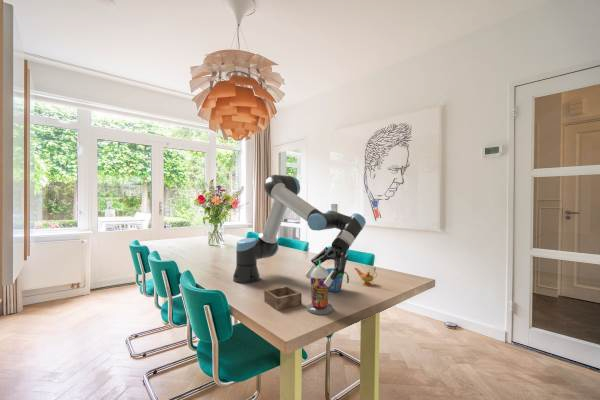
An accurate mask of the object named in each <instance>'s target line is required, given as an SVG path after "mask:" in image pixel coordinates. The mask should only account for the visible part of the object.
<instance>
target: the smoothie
mask: <svg viewBox="0 0 600 400" xmlns="http://www.w3.org/2000/svg"><path fill="white" fill-rule="evenodd" d="M326 269H327V268H326V267H324V266H321V264H320V260H319V265H318V266H317V267H316V268H314V269H313V270H312V272H311V274H310V278H309V279H310V292H311V293H310V294H311V296H310V297H311V303H312V305H313V307H314V308H316V309H325V308H326V307H327V305H328V304H329V292H330V291H329V287H327V286H326V285H325V284H324V282H325V280H326V279H327V277H328V276H329V274H328V271H327V270H326Z"/></svg>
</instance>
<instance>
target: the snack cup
mask: <svg viewBox="0 0 600 400" xmlns="http://www.w3.org/2000/svg"><path fill="white" fill-rule="evenodd" d="M325 269H326V270H327V271H328V274H330V273H331V271H332V270H334V267H331V268H325ZM334 271H335V270H334ZM344 274H346V284H349V283H350V278H349V273H348V272H346V271H345V270H344V273H343V274H341V273H340V274H338V275H337V277H336V278H335V279H334V280H333V281H332V283H331V284H330V286H329V291H328V292H329V293H338V292H340V291H341V290H342V287H343V281H344V280H343V278H344Z"/></svg>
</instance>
